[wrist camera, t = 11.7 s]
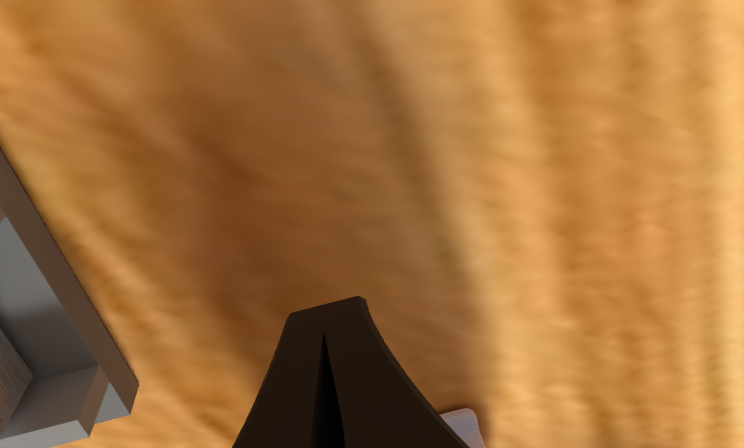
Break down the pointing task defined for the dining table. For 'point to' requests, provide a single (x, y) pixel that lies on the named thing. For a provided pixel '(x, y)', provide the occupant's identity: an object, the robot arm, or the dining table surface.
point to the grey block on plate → (11, 380)
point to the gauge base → (53, 334)
